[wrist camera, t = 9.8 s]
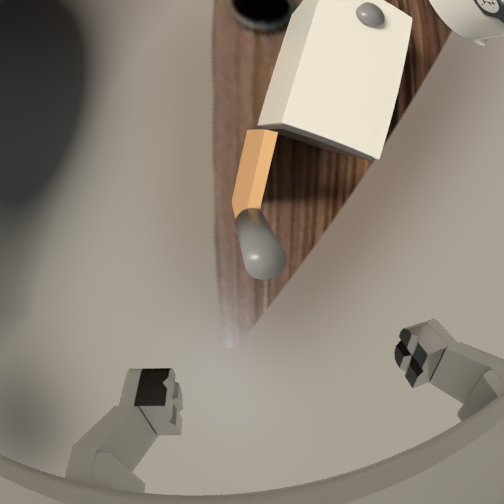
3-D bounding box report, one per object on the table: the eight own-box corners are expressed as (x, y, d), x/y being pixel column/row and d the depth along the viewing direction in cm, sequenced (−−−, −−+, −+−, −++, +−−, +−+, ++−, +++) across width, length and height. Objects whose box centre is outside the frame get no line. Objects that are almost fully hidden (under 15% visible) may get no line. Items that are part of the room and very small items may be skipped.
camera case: (291, 14, 25) (330, -32, 13) (363, 45, 27) (425, 22, 15) (256, 128, 30) (282, 127, 19) (333, 153, 33) (391, 169, 21)
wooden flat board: (261, 132, 31) (319, 137, 14) (245, 204, 34) (279, 284, 17) (241, 128, 30) (275, 126, 13) (225, 201, 33) (240, 280, 17)
